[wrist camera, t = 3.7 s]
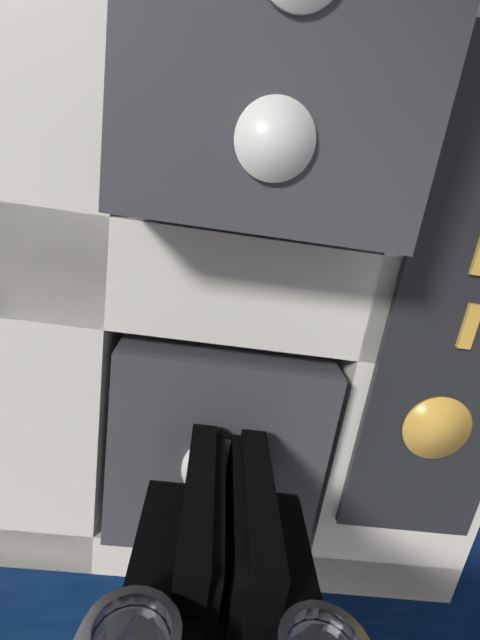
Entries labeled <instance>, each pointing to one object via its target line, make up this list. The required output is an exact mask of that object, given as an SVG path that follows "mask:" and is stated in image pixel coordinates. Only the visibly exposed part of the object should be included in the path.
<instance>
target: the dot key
mask: <svg viewBox="0 0 480 640" xmlns="http://www.w3.org/2000/svg"><path fill="white" fill-rule="evenodd" d="M347 383H348V382H347V380H346V378H345V376H344V375H343V373H342V371H341V369H340V368H339V366H338V364H337V363H336V361H335V359H334V358H326V357H318V356H309V355H301V354H293V353H285V352H277V351H268V350H260V349H252V348H244V347H236V346H227V345H219V344H211V343H203V342H195V341H186V340H178V339H170V338H162V337H154V336H145V335H137V334H129V333H124V335H123V336H122V338H121V340H120V341H119V343H118V344H117V346H116V348H115V349H114V351H113V352H112V355H111V372H110V389H109V406H108V423H107V440H106V457H105V474H104V492H103V509H102V526H101V543H100V545H108V546H120V547H131V548H133V544H134V540H135V536H136V532H137V528H138V524H139V520H140V516H141V512H142V508H143V504H144V500H145V496H146V492H147V488H148V485H149V482H150V480H157V481H167V482H177V483H185V482H186V474H187V467H188V459H189V452H190V444H191V437H192V429H193V423H194V424H203V425H212V426H217V433H225V476H226V470H227V464H228V457H229V451H230V445H231V439H232V435H233V434H234V435H241V431H242V429H248V430H257V431H266V432H267V437H268V444H269V450H270V456H271V463H272V469H273V475H274V481H275V488H276V492H277V493H287V494H296V495H297V496H298V497H299V500H300V503H301V508H302V512H303V516H304V521H305V525H306V529H307V534H308V538H309V540H310V536H311V532H312V528H313V523H314V519H315V515H316V511H317V507H318V503H319V499H320V495H321V490H322V486H323V482H324V478H325V474H326V470H327V466H328V461H329V457H330V453H331V449H332V445H333V441H334V437H335V433H336V428H337V424H338V420H339V416H340V412H341V408H342V404H343V400H344V395H345V391H346V387H347Z"/></svg>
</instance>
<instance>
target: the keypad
mask: <svg viewBox="0 0 480 640" xmlns="http://www.w3.org/2000/svg"><path fill="white" fill-rule="evenodd" d="M107 4H108V0H0V566H1V567H13V568H26V569H38V570H50V571H62V572H75V573H87V574H99V575H112V576H124V577H125V576H126V572H127V568H128V564H129V560H130V556H131V552H132V548H131V547H120V546H108V545H100V543H101V526H102V509H103V492H104V474H105V457H106V440H107V423H108V406H109V389H110V372H111V355H112V352H113V351H114V349H115V348H116V346H117V344H118V343H119V341H120V340H121V338H122V336H123V335H124V333H129V334H137V335H145V336H154V337H162V338H170V339H178V340H186V341H195V342H203V343H211V344H219V345H227V346H236V347H244V348H252V349H260V350H268V351H277V352H285V353H293V354H301V355H309V356H318V357H326V358H334V359H335V361H336V363H337V364H338V366H339V368H340V369H341V371H342V373H343V375H344V376H345V378H346V380H347V382H348V383H347V387H346V391H345V395H344V400H343V404H342V408H341V412H340V416H339V420H338V424H337V428H336V433H335V437H334V441H333V445H332V449H331V453H330V457H329V461H328V466H327V470H326V474H325V478H324V482H323V486H322V490H321V495H320V499H319V503H318V507H317V511H316V515H315V519H314V523H313V528H312V532H311V536H310V540H309V543H310V547H311V551H312V556H313V560H314V565H315V569H316V573H317V578H318V582H319V587H320V591H321V593H333V594H345V595H358V596H370V597H382V598H395V599H407V600H419V601H431V602H444V603H450V601H451V599H452V596H453V593H454V591H455V588H456V586H457V583H458V581H459V578H460V575H461V573H462V570H463V568H464V565H465V562H466V560H467V557H468V555H469V552H470V550H471V547H472V544H473V542H474V539H475V537H476V534H477V531H478V529H479V526H480V5H479V9H478V13H477V16H476V20H475V24H474V28H473V31H472V35H471V39H470V43H469V46H468V50H467V54H466V58H465V61H464V65H463V69H462V73H461V76H460V80H459V84H458V88H457V91H456V95H455V99H454V103H453V106H452V110H451V114H450V118H449V121H448V125H447V129H446V133H445V136H444V140H443V144H442V148H441V152H440V155H439V159H438V163H437V167H436V170H435V174H434V178H433V182H432V185H431V189H430V193H429V197H428V200H427V204H426V208H425V212H424V215H423V219H422V223H421V227H420V230H419V234H418V238H417V242H416V245H415V249H414V253H413V257H410V256H403V255H396V254H389V253H382V252H375V251H368V250H361V249H354V248H346V247H339V246H332V245H325V244H318V243H311V242H304V241H297V240H290V239H283V238H276V237H269V236H262V235H255V234H248V233H240V232H233V231H226V230H219V229H212V228H205V227H198V226H191V225H184V224H177V223H170V222H163V221H156V220H149V219H142V218H134V217H127V216H120V215H113V214H106V213H99V212H98V210H99V187H100V164H101V141H102V119H103V96H104V73H105V50H106V27H107Z"/></svg>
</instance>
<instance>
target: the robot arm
mask: <svg viewBox="0 0 480 640" xmlns="http://www.w3.org/2000/svg"><path fill="white" fill-rule="evenodd" d="M73 640H370V639H369V637H368V636H367V634H366V632H365V631H364V629H363V627H362V626H361V625H360V624H359V623H358V622H357V621H356V620H355V619H354V618H353V616H352V615H351V614H349V613H348V612H346V611H345V610H343V609H342V608H340V607H338V606H337V605H334V604H331V603H328V602H326V601H323V600H322V595H321V591H320V587H319V582H318V578H317V573H316V569H315V565H314V560H313V556H312V551H311V547H310V543H309V538H308V534H307V529H306V525H305V521H304V516H303V512H302V508H301V503H300V500H299V497H298V496H297V495H296V494H287V493H277V492H276V488H275V481H274V475H273V469H272V463H271V456H270V450H269V444H268V437H267V432H266V431H257V430H248V429H242V431H241V435H234V434H233V435H232V439H231V445H230V451H229V457H228V464H227V470H226V476H225V433H217V426H212V425H203V424H194V423H193V429H192V437H191V444H190V452H189V459H188V467H187V474H186V482H185V483H177V482H167V481H157V480H150V482H149V485H148V488H147V492H146V496H145V500H144V504H143V508H142V512H141V516H140V520H139V524H138V528H137V532H136V536H135V540H134V544H133V548H132V552H131V556H130V560H129V564H128V568H127V572H126V576H125V580H124V584H123V587H120V588H118V589H115V590H113V591H111V592H109V593H107V594H105V595H104V596H103V597H102V598H100V599H99V600H98V601H97V602H96V603H94V604H93V605H92V607H91V608H90V610H89V611H88V613H87V614H86V616H85V617H84V619H83V621H82V623H81V625H80V627H79V629H78V631H77V633H76V635H75V637H74V639H73Z"/></svg>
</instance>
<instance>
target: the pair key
mask: <svg viewBox="0 0 480 640" xmlns="http://www.w3.org/2000/svg"><path fill="white" fill-rule="evenodd" d="M479 5H480V0H108V4H107V27H106V50H105V73H104V96H103V119H102V141H101V164H100V187H99V210H98V212H99V213H106V214H113V215H120V216H127V217H134V218H142V219H149V220H156V221H163V222H170V223H177V224H184V225H191V226H198V227H205V228H212V229H219V230H226V231H233V232H240V233H248V234H255V235H262V236H269V237H276V238H283V239H290V240H297V241H304V242H311V243H318V244H325V245H332V246H339V247H346V248H354V249H361V250H368V251H375V252H382V253H389V254H396V255H403V256H410V257H413V253H414V249H415V245H416V242H417V238H418V234H419V230H420V227H421V223H422V219H423V215H424V212H425V208H426V204H427V200H428V197H429V193H430V189H431V185H432V182H433V178H434V174H435V170H436V167H437V163H438V159H439V155H440V152H441V148H442V144H443V140H444V136H445V133H446V129H447V125H448V121H449V118H450V114H451V110H452V106H453V103H454V99H455V95H456V91H457V88H458V84H459V80H460V76H461V73H462V69H463V65H464V61H465V58H466V54H467V50H468V46H469V43H470V39H471V35H472V31H473V28H474V24H475V20H476V16H477V13H478V9H479Z"/></svg>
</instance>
